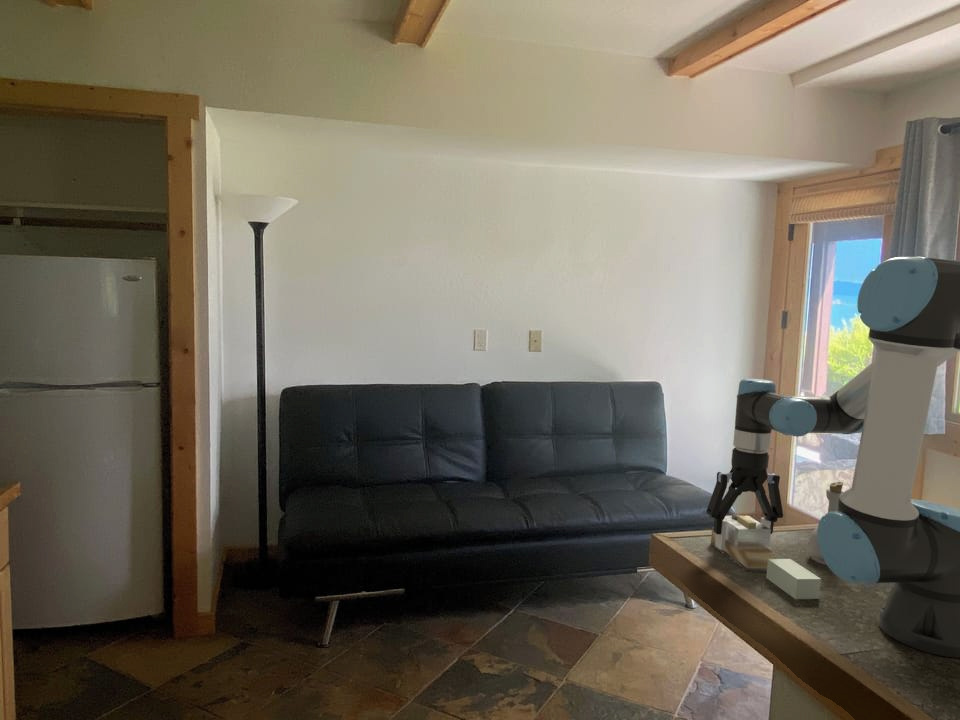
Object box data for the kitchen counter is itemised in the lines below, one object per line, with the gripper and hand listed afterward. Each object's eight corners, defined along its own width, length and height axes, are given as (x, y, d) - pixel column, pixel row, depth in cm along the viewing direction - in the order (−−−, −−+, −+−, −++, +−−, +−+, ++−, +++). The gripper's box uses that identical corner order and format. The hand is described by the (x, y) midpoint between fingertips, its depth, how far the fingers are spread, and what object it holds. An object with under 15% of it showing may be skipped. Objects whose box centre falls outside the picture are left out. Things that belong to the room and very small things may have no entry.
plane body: (773, 571, 146) (775, 553, 146) (747, 571, 145) (749, 553, 145) (734, 544, 162) (736, 527, 161) (710, 544, 161) (712, 527, 160)
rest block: (818, 598, 134) (821, 578, 133) (795, 599, 133) (797, 579, 132) (788, 577, 143) (790, 558, 143) (766, 577, 143) (768, 559, 142)
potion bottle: (858, 569, 150) (867, 488, 148) (817, 566, 150) (825, 486, 149) (838, 554, 159) (846, 478, 157) (799, 551, 159) (807, 475, 157)
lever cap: (769, 547, 149) (771, 524, 149) (737, 547, 148) (739, 524, 148) (747, 532, 158) (749, 511, 158) (716, 532, 157) (718, 511, 156)
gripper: (787, 446, 157) (777, 541, 159) (695, 444, 153) (686, 541, 155) (807, 454, 149) (797, 554, 151) (711, 452, 146) (702, 554, 148)
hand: (741, 547), depth 153 cm, fingers open, 10 cm apart
